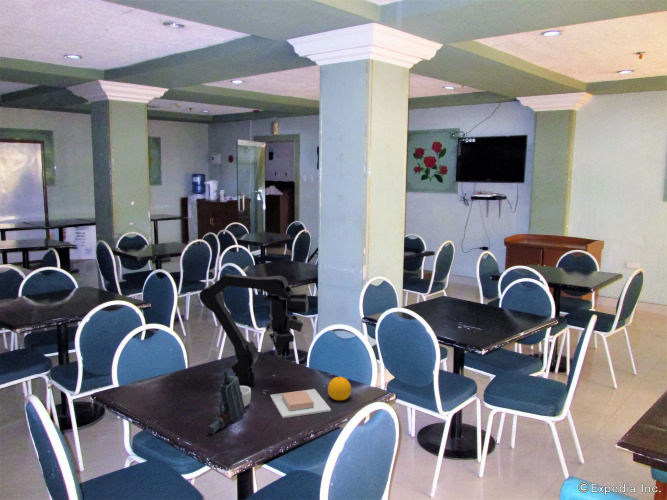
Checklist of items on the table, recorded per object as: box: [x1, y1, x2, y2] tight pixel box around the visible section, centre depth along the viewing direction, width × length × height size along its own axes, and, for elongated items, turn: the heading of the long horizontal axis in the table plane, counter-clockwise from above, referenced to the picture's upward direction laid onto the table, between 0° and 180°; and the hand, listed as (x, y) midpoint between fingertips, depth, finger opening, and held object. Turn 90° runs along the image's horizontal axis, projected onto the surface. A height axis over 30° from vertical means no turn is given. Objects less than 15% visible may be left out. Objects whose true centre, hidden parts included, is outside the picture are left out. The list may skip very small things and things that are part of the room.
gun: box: [207, 370, 248, 436], centre depth 162 cm, size 3×17×15 cm
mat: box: [269, 388, 332, 419], centre depth 180 cm, size 16×18×1 cm
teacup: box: [240, 386, 252, 408], centre depth 177 cm, size 10×8×5 cm
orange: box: [327, 376, 352, 401], centre depth 184 cm, size 8×8×8 cm
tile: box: [282, 390, 314, 411], centre depth 179 cm, size 8×2×10 cm
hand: (279, 355), depth 193 cm, fingers closed
